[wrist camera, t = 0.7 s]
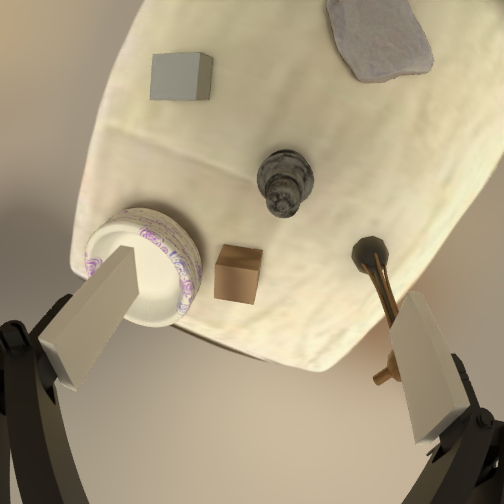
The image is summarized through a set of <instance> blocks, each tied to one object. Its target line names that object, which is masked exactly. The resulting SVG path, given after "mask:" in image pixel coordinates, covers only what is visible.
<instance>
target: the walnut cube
mask: <svg viewBox="0 0 504 504" xmlns="http://www.w3.org/2000/svg"><path fill="white" fill-rule="evenodd" d="M262 251H263V250H258V249H251V248H244V247H238V246H231V245H224V246H223V248H222V250H221V253H220V255H219V257H218V259H217V262H216V264H215V284H214V298H216V299H222V300H228V301H234V302H240V303H246V304H252V305H254V301H255V296H256V291H257V286H258V280H259V273H260V266H261V258H262Z"/></svg>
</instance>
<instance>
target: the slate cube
mask: <svg viewBox="0 0 504 504" xmlns="http://www.w3.org/2000/svg"><path fill="white" fill-rule="evenodd" d="M212 64H213V58H212V57H210V56H207V55H205V54H203V53H200V52H195V53H166V54H153V60H152V72H151V85H150V100H209V96H210V85H211V74H212Z"/></svg>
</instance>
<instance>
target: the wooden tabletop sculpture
mask: <svg viewBox="0 0 504 504" xmlns="http://www.w3.org/2000/svg"><path fill="white" fill-rule="evenodd" d="M388 256H389V253H388V250H387V248H386V246H385V244H384V242H383V240H381V239H379V238H376V237H374V236H371V237H366V238H362V239H361V240H360V241H359V242H358V243H357V244H356V245H355V246H354V247H353V252H352V260H353V262H354V263H355V265H356V267H357V268H358V270H359V271H360V272H362V273H365V274H368V275H369V276H370V278H371V280H372V282H373V284H374V286H375V288H376V290H377V293H378V295H379V298H380V300H381V303H382V306H383V309H384V312H385V315H386V318H387V321H388V325H389V328H390V329H391V327H392V325H393V323H394V321H395V319H396V317H397V315H398V313H399V310H398V308H397V305H396V302H395V299H394V296H393V294H392V290H391V287H390V284H389V280H388V276H387V269H386V265H387V261H388ZM383 269H384V275H385V279H384V276H383V272H382V270H383ZM385 280H386V281H385ZM391 377H392V378H394V379H395V380H396V381H399V382H402V380H401V376H400V372H399V369H398V365H397V361H396V358H395V354H394V350H393V349H392V350H391V352H390V354H389V355H388V363H387V367H386V368H385V369H383V370H382V371H380V372H379V373H377V374H376V375H374V376H373V380H374V382H375V384H376V385H381V384H382V383H384V382H385V381H387V380H388V379H390V378H391Z"/></svg>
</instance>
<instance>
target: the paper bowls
mask: <svg viewBox="0 0 504 504" xmlns="http://www.w3.org/2000/svg"><path fill="white" fill-rule="evenodd" d="M120 245H123V246H128V247H134V252H135V262H136V272H137V280H138V288H139V295H138V296H137V298H136V299H135V301H134V302H133V304H132V305H131V307H130V308H129V310H128V311H127V313H126V314H125V316H124V317H123V318H125V319H127V320H129V321H131V322H133V323H136V324H139V325H143V326H148V327H162V326H168V325H171V324H173V323H175V322H177V321H178V320H180V319H181V318H182V317H183V316H184V315H185V314H186V313H187V311H188V310H189V308H190V306H191V304H192V302H193V300H194V298H195V296H196V294H197V292H198V290H199V287H200V284H201V280H202V263H201V258H200V255H199V252H198V249H197V247H196V245H195V244H194V242H193V240H192V239H191V237H190V236H189V235H188V233H187V232H186V231H185V230H184V229H183V228H182V227H181V226H180V225H179V224H178V223H176V222H175V221H174V220H173V219H172V218H170V217H168V216H167V215H164V214H162V213H160V212H158V211H155V210H152V209H147V208H130V209H126V210H123V211H121V212H119V213H118V214H116V215H115V216H113V217H112V218H110V219H109V220H108V221H107V222H106V223H104V224H103V225H102V226H100V227H99V228H98V229H97V230H96V231H95V232H94V233H93V234H92V235H91V237H90V238H89V241H88V243H87V246H86V250H85V266H86V271H87V275H88V277H90V276H91V275H92V274H93V273H94V272H95V271H96V270H97V269H98V268H99V267H100V266H101V265H102V264H103V263H104V261H105V260H106V259H107V258H108V257H109V256H110V255H111V254H112V253H113V252H114V251H115V250H116V249H117V248H118V247H119V246H120Z"/></svg>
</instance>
